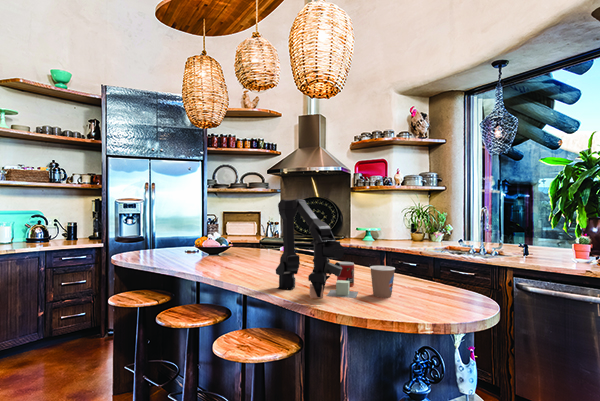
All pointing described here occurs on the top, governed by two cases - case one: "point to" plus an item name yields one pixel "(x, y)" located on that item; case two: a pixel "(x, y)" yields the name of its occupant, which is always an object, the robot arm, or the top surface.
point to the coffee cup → (382, 280)
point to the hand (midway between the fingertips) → (320, 295)
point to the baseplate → (351, 295)
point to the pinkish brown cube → (313, 293)
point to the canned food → (347, 272)
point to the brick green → (342, 287)
